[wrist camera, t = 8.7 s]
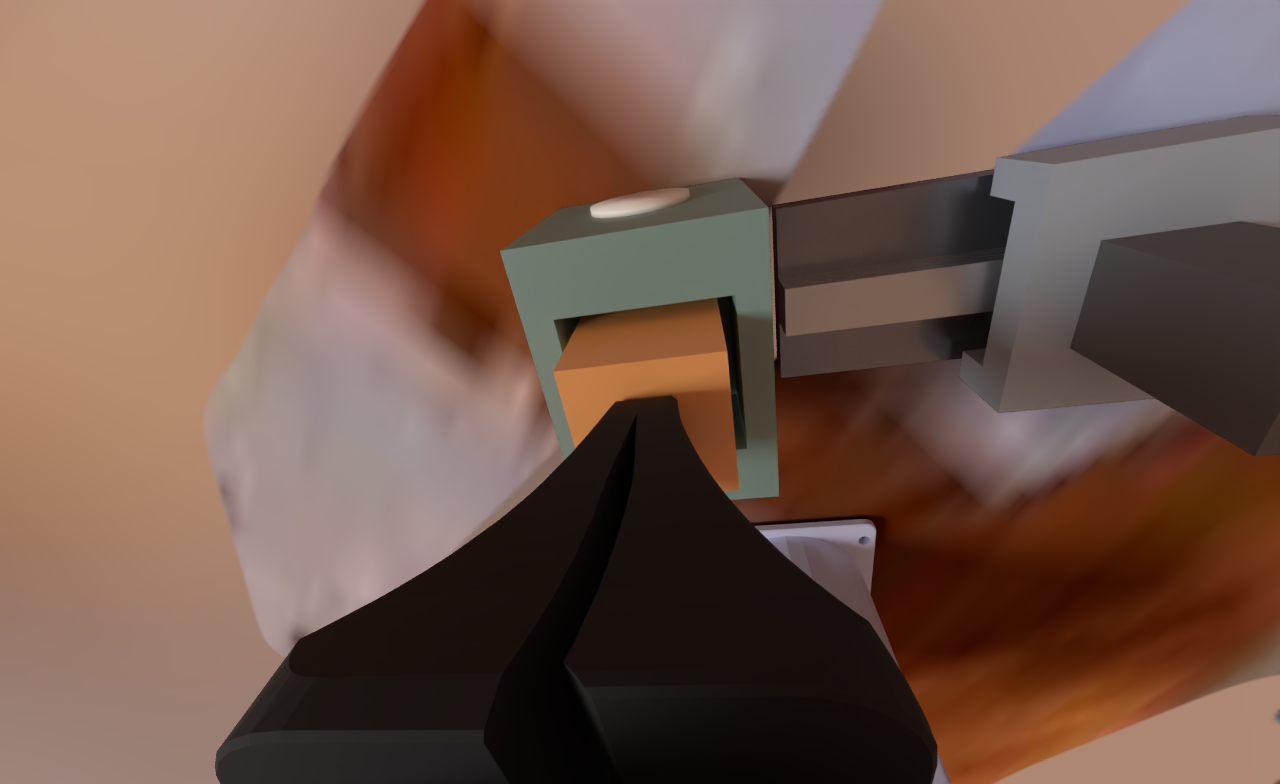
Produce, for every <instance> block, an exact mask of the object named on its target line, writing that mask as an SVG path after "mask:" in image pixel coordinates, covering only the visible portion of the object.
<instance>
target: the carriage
mask: <svg viewBox="0 0 1280 784" xmlns="http://www.w3.org/2000/svg"><path fill="white" fill-rule="evenodd" d="M990 195H991V196H995V197H999V198H1003V199H1007V200H1011V201H1015V205H1014V210H1013V215H1012V220H1011V225H1010V230H1009V235H1008V240H1007V245H1006V250H1005V255H1004V260H1003V266H1002V271H1001V276H1000V281H999V286H998V291H997V296H996V301H995V306H994V311H993V316H992V321H991V326H990V331H989V336H988V341H987V346H986V348H985V349H976V350H967V351H963V354H962V360H961V366H960V372H959V377H960V378H961V379H962V380H963V381H964V382H965V383H966V384H967V385H968V386H969V387H970V388H971V389H972V390H974V391H975V392H976V393H977V394H978V395H979V396H980V397H981V398H982V399H983V400H984V401H985V402H987V403H988V404H989V405H990V406H991V407H992V408H993V409H994V410H995V411H996V412H997V413H1005V412H1016V411H1026V410H1037V409H1048V408H1059V407H1069V406H1080V405H1091V404H1102V403H1113V402H1123V401H1134V400H1145V399H1157V400H1159V401H1161V402H1163V403H1164V404H1166V405H1168V406H1169V407H1171V408H1173V409H1175V410H1176V411H1178V412H1180V413H1181V414H1183V415H1185V416H1186V417H1188V418H1190V419H1192V420H1193V421H1195V422H1197V423H1198V424H1200V425H1202V426H1203V427H1205V428H1207V429H1209V430H1210V431H1212V432H1214V433H1215V434H1217V435H1219V436H1221V437H1222V438H1224V439H1226V440H1227V441H1229V442H1231V443H1232V444H1234V445H1236V446H1238V447H1239V448H1241V449H1243V450H1244V451H1246V452H1248V453H1250V454H1251V455H1253V456H1268V455H1280V116H1244V117H1238V118H1232V119H1226V120H1220V121H1214V122H1208V123H1202V124H1196V125H1190V126H1184V127H1178V128H1172V129H1166V130H1160V131H1154V132H1148V133H1142V134H1136V135H1130V136H1124V137H1118V138H1112V139H1106V140H1100V141H1094V142H1088V143H1082V144H1076V145H1070V146H1064V147H1058V148H1052V149H1046V150H1040V151H1033V152H1027V153H1021V154H1015V155H1009V156H1003V157H997V159H996V165H995V170H994V176H993V182H992V188H991V193H990Z"/></svg>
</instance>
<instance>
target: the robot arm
mask: <svg viewBox="0 0 1280 784" xmlns="http://www.w3.org/2000/svg"><path fill="white" fill-rule="evenodd" d="M861 537H864V538H861ZM875 541H876V527H875V525H874V523H873V522H872V521H870V520H868V519H855V520H840V521H825V522H809V523H794V524H778V525H763V526H753V525H752V524H751V523H750V522H749V520H748V519H747V518H746V517H745V516H744V515H743V514H742V513H741V512H740V510H739V509H738V508H737V507H736V506H735V505H734V504H733V502H732V501H731V500H730V499H729V498H728V496H727V495H726V494H725V493H724V491H723V490H722V489H721V488H720V486H719V485H718V484H717V482H716V481H715V479H714V478H713V477H712V475H711V474H710V472H709V471H708V469H707V468H706V466H705V465H704V463H703V462H702V460H701V459H700V457H699V455H698V454H697V452H696V450H695V448H694V446H693V445H692V443H691V441H690V439H689V437H688V435H687V433H686V431H685V429H684V426H683V424H682V421H681V419H680V414H679V407H678V401H677V399H676V398H674V397H673V396H672V395H671V396H662V397H652V398H643V399H634V400H625V401H616V402H615V403H614V404H613V405H612V406H611V407H610V408H609V410H608V411H607V412H606V413H605V414H604V416H603V417H602V418H601V419H600V420H599V422H598V423H597V424H596V425H595V426H594V428H593V429H592V430H591V431H590V432H589V433H588V435H587V436H586V437H585V438H584V439H583V440H582V442H581V443H580V444H579V445H578V446H577V447H576V448H575V450H574V451H573V452H572V453H571V454H570V455H569V456H568V457H567V458H566V459H565V460H564V461H563V462H562V463H561V464H560V465H559V466H558V467H557V468H556V469H555V471H553V472H552V473H551V474H550V475H549V477H548V478H547V479H546V480H545V481H544V482H543V483H542V484H540V485H539V486H538V487H537V488H536V489H535V490H534V491H533V492H532V493H531V494H530V495H528V496H527V497H526V498H525V499H524V500H523V501H522V502H520V503H519V504H518V505H517V506H516V507H514V508H513V509H512V510H511V511H510V512H508V513H507V514H506V515H505V516H503V517H502V518H501V519H500V520H498V521H497V522H496V523H494V524H493V525H492V526H490V527H489V528H487V529H486V530H485V531H483V532H482V533H480V534H479V535H478V536H476V537H475V538H473V539H472V540H471V541H470V542H468V543H467V544H465V545H464V546H462V547H461V548H460V549H458V550H457V551H455V552H454V553H452V554H451V555H449V556H448V557H446V558H445V559H443V560H442V561H440V562H439V563H437V564H435V565H434V566H432V567H431V568H429V569H428V570H426V571H424V572H423V573H421V574H419V575H418V576H416V577H414V578H413V579H411V580H409V581H408V582H406V583H404V584H403V585H401V586H399V587H398V588H396V589H394V590H392V591H391V592H389V593H387V594H385V595H384V596H382V597H380V598H378V599H377V600H375V601H373V602H371V603H369V604H367V605H365V606H363V607H361V608H359V609H357V610H356V611H354V612H352V613H350V614H348V615H346V616H344V617H342V618H340V619H338V620H337V621H335V622H333V623H331V624H329V625H327V626H325V627H323V628H321V629H319V630H317V631H315V632H313V633H311V634H309V635H307V636H305V637H303V638H301V639H300V640H299V641H298V642H297V643H296V645H295V646H294V647H293V649H292V650H291V652H290V653H289V654H288V656H287V657H286V658H285V660H284V661H283V662H282V664H281V665H280V666H279V668H278V669H277V671H276V672H275V673H274V675H273V676H272V677H271V679H270V680H269V682H268V683H267V684H266V686H265V687H264V688H263V690H262V691H261V692H260V694H259V695H258V696H257V698H256V700H255V701H254V702H253V703H252V705H251V706H250V708H249V709H248V710H247V711H246V713H245V714H244V716H243V717H242V718H241V720H240V721H239V722H238V724H237V725H236V726H235V728H234V729H233V730H232V732H231V733H230V735H229V736H228V737H227V739H226V740H225V741H224V743H223V744H222V745H221V747H220V748H219V750H218V751H217V754H216V762H215V769H216V776H217V778H218V780H219V782H220V784H951V782H950V779H949V777H948V774H947V772H946V769H945V767H944V764H943V762H942V759H941V757H940V756H939V755H938V754H937V744H936V741H935V739H934V737H933V734H932V732H931V729H930V727H929V724H928V721H927V719H926V717H925V715H924V713H923V711H922V709H921V707H920V705H919V703H918V701H917V699H916V698H915V696H914V694H913V692H912V690H911V688H910V686H909V684H908V683H907V681H906V679H905V677H904V676H903V674H902V672H901V671H900V668H899V666H898V663H897V661H896V658H895V655H894V653H893V650H892V648H891V645H890V643H889V640H888V638H887V635H886V633H885V630H884V628H883V625H882V623H881V620H880V618H879V615H878V613H877V610H876V608H875V605H874V603H873V600H872V598H871V595H870V593H871V583H872V572H873V562H874V552H875Z"/></svg>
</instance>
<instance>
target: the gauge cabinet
mask: <svg viewBox="0 0 1280 784" xmlns="http://www.w3.org/2000/svg"><path fill="white" fill-rule="evenodd" d="M500 253H501V256H502V259H503V262H504V266H505V269H506V272H507V275H508V279H509V282H510V285H511V288H512V292H513V295H514V298H515V301H516V305H517V308H518V311H519V315H520V318H521V321H522V324H523V328H524V331H525V334H526V337H527V341H528V344H529V347H530V350H531V354H532V357H533V360H534V363H535V367H536V370H537V373H538V376H539V380H540V383H541V386H542V389H543V393H544V396H545V399H546V402H547V406H548V409H549V412H550V416H551V419H552V422H553V425H554V429H555V432H556V435H557V438H558V442H559V445H560V448H561V451H562V454H563V458H564V460H565V459H566V458H567V457H568V456H569V455H570V454H571V453H572V452H573V451H574V450H575V446H574V443H573V439H572V436H571V432H570V429H569V425H568V422H567V418H566V415H565V412H564V408H563V405H562V401H561V398H560V394H559V391H558V387H557V384H556V380H555V377H554V373H553V371H554V369H555V367H556V365H557V363H558V361H559V359H560V357H561V355H562V353H563V351H564V350H565V348H566V346H567V344H568V342H569V340H570V338H571V336H572V334H573V332H574V330H575V328H576V326H577V324H578V322H579V320H580V318H581V316H586V315H593V314H600V313H608V312H615V311H622V310H629V309H637V308H644V307H651V306H659V305H666V304H673V303H681V302H688V301H695V300H702V299H710V298H717V301H718V306H719V312H720V317H721V322H722V327H723V332H724V337H725V342H726V347H727V354H728V365H729V377H730V388H731V399H732V411H733V422H734V433H735V445H736V456H737V467H738V479H739V490H735V491H724V493H725V494H726V495H727V496H728V498H729V499H730V500H734V499H747V498H761V497H774V496H779V482H778V455H777V428H776V401H775V374H774V349H773V348H774V347H773V319H772V294H771V293H772V292H771V269H770V267H771V266H770V239H769V210H768V206H767V205H766V204H765V203H764V202H763V201H762V200H761V199H760V198H759V197H758V196H757V195H756V194H755V193H754V192H753V191H752V190H751V189H750V188H749V187H748V186H747V185H746V184H745V183H744V182H743V181H742V180H741V179H740V178H734V179H728V180H722V181H717V182H711V183H705V184H699V185H694V186H688V187H682V188H668V189H659V190H652V191H645V192H640V193H634V194H629V195H625V196H620V197H616V198H612V199H609V200H605V201H601V202H596V203H590V204H584V205H578V206H572V207H567V208H561V209H558V210H557V211H555V212H554V213H552V214H551V215H550V216H548V217H547V218H545V219H544V220H543V221H541V222H540V223H538V224H537V225H536V226H534V227H533V228H531V229H530V230H529V231H527V232H526V233H524V234H523V235H522V236H520V237H519V238H517V239H516V240H515V241H513V242H512V243H510V244H509V245H508V246H506V247H505V248H503V249H502V250H501V251H500Z"/></svg>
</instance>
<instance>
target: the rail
mask: <svg viewBox="0 0 1280 784" xmlns="http://www.w3.org/2000/svg"><path fill="white" fill-rule="evenodd" d="M994 170H995V169H992V170H986V171H980V172H973V173H968V174H962V175H955V176H949V177H943V178H937V179H930V180H924V181H918V182H913V183H906V184H900V185H894V186H888V187H882V188H875V189H870V190H863V191H857V192H851V193H845V194H839V195H833V196H826V197H820V198H814V199H808V200H802V201H796V202H789V203H783V204H777V205H772V220H773V249H774V276H775V277H774V280H775V310H776V339H777V369H778V371H779V374H780V376H781V378H786V377H796V376H805V375H814V374H823V373H832V372H841V371H850V370H859V369H868V368H878V367H887V366H896V365H905V364H914V363H923V362H932V361H941V360H950V359H959V358H962V354H963V351H967V350H976V349H985V348H986V346H987V341H988V336H989V331H990V326H991V321H992V316H993V311H994V306H995V301H996V296H997V291H998V286H999V281H1000V276H1001V271H1002V266H1003V260H1004V255H1005V250H1006V245H1007V240H1008V235H1009V230H1010V225H1011V220H1012V215H1013V210H1014V205H1015V201H1011V200H1007V199H1003V198H999V197H995V196H991V195H990V193H991V188H992V182H993V176H994Z"/></svg>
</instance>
